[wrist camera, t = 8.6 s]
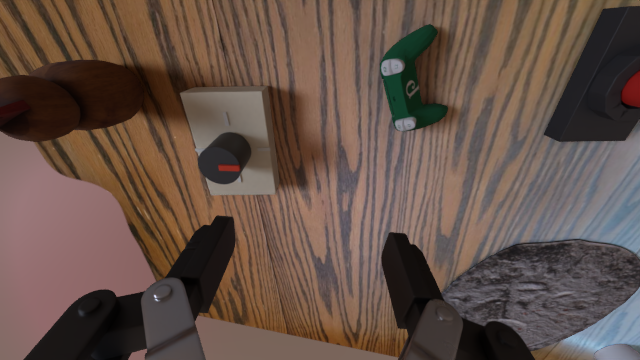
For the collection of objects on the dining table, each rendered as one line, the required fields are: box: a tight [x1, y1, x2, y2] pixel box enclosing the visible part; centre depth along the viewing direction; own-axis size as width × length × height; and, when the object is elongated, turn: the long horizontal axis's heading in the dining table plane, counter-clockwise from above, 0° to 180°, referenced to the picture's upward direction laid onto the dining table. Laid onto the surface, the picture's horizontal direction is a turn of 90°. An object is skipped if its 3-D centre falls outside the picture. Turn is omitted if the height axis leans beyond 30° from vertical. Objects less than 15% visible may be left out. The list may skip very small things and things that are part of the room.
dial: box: [198, 132, 251, 184], centre depth 24 cm, size 4×4×4 cm
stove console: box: [180, 86, 280, 195], centre depth 28 cm, size 12×8×3 cm
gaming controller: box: [380, 24, 448, 131], centre depth 24 cm, size 9×4×6 cm
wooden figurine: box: [0, 60, 144, 142], centre depth 20 cm, size 7×6×15 cm
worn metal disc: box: [442, 240, 640, 351], centre depth 45 cm, size 33×35×1 cm
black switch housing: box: [544, 6, 640, 142], centre depth 23 cm, size 12×7×4 cm, turn 1°
